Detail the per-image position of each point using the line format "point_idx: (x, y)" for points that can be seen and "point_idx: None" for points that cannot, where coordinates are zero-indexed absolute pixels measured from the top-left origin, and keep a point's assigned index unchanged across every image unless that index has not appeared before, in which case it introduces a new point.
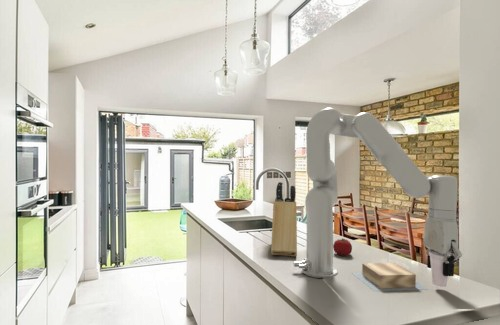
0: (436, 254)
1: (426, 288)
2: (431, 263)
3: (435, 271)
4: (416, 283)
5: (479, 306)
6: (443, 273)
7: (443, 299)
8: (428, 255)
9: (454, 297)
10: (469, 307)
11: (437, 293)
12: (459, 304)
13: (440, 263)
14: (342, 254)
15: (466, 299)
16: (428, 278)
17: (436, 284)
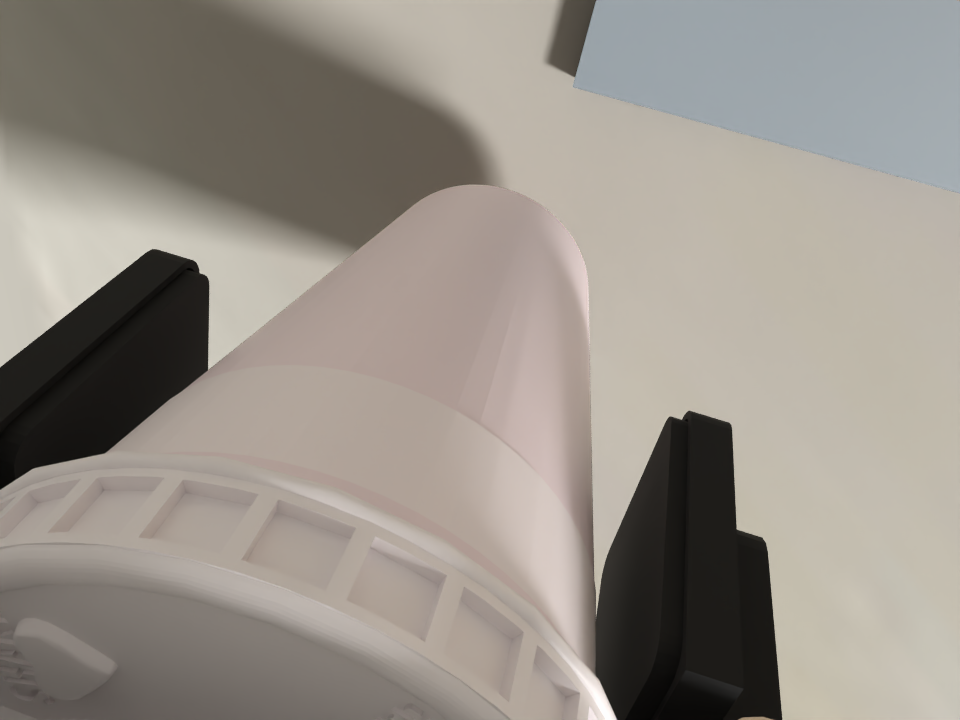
0: (154, 667)
1: (612, 82)
2: (438, 378)
3: (369, 277)
4: (870, 118)
5: (32, 262)
6: (146, 267)
7: (256, 10)
8: (719, 700)
9: (291, 238)
10: (2, 118)
11: (461, 139)
12: (86, 79)
13: (136, 429)
14: None
15: (216, 317)
16: (940, 546)
17: (449, 192)
